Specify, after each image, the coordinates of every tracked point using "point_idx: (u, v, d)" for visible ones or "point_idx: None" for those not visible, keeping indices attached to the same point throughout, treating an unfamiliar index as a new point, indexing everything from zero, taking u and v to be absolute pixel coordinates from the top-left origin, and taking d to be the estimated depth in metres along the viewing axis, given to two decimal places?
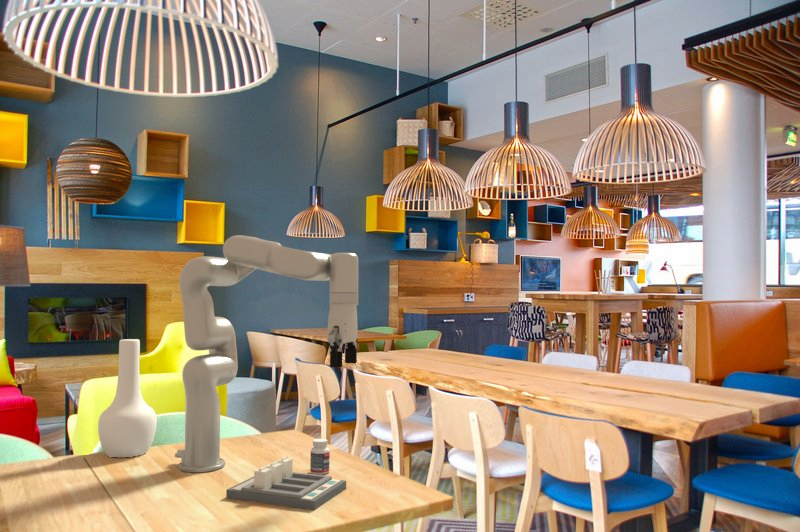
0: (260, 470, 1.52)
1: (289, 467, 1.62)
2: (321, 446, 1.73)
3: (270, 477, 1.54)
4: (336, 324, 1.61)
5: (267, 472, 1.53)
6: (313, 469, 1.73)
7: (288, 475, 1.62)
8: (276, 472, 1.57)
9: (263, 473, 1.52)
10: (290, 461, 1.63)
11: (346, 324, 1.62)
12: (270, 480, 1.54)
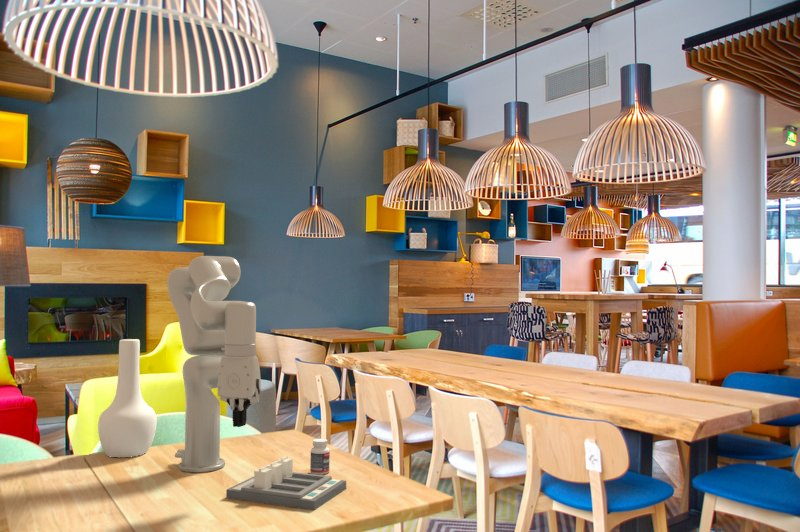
0: (260, 470, 1.52)
1: (289, 467, 1.62)
2: (321, 446, 1.73)
3: (270, 477, 1.54)
4: (257, 377, 1.55)
5: (267, 472, 1.53)
6: (313, 469, 1.73)
7: (288, 475, 1.62)
8: (276, 472, 1.57)
9: (263, 473, 1.52)
10: (290, 461, 1.63)
11: None
12: (270, 480, 1.54)
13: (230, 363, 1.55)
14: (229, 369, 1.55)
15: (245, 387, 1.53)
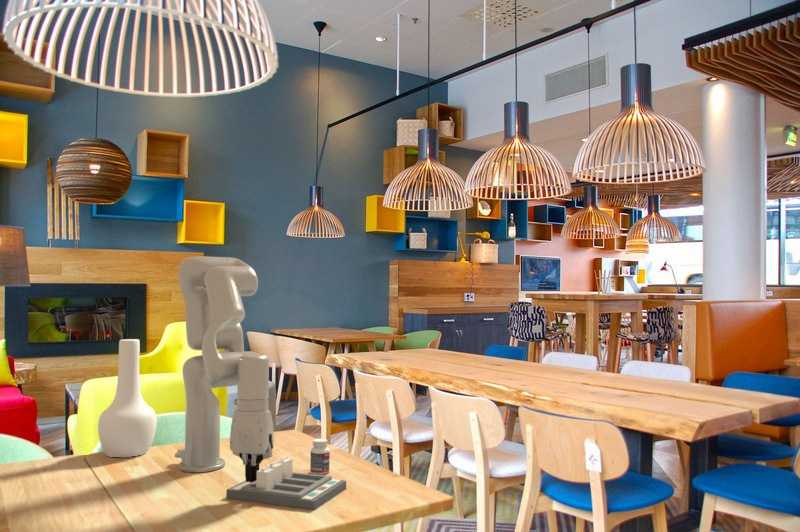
0: (262, 470, 1.52)
1: (289, 467, 1.62)
2: (321, 446, 1.73)
3: (272, 477, 1.54)
4: (270, 432, 1.53)
5: (269, 472, 1.53)
6: (313, 469, 1.73)
7: (288, 475, 1.62)
8: (276, 472, 1.57)
9: (265, 473, 1.52)
10: (290, 461, 1.63)
11: None
12: (272, 481, 1.54)
13: (242, 418, 1.53)
14: (241, 424, 1.53)
15: (258, 443, 1.51)
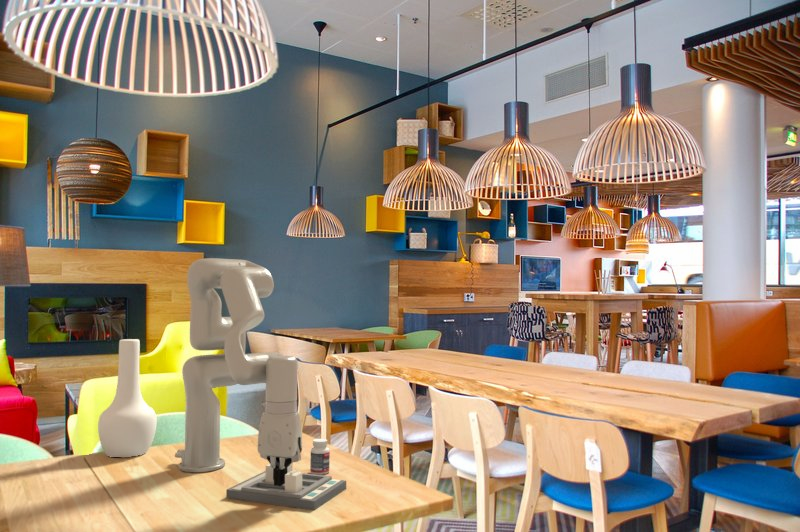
0: (291, 474, 1.49)
1: (289, 467, 1.62)
2: (321, 446, 1.73)
3: (301, 481, 1.51)
4: (299, 435, 1.51)
5: (298, 476, 1.50)
6: (313, 469, 1.73)
7: None
8: None
9: (294, 477, 1.49)
10: None
11: None
12: (301, 484, 1.51)
13: (271, 421, 1.50)
14: (270, 427, 1.50)
15: (287, 446, 1.48)
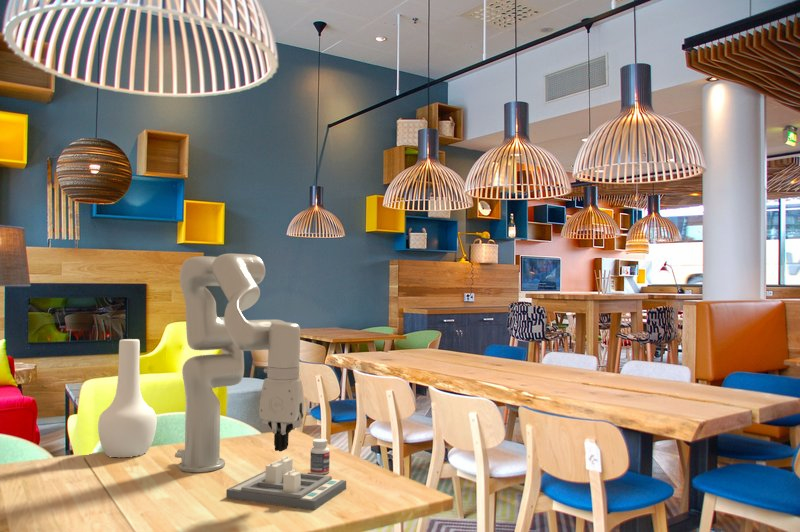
0: (289, 473, 1.50)
1: (289, 467, 1.62)
2: (321, 446, 1.73)
3: (299, 481, 1.51)
4: (300, 401, 1.51)
5: (296, 475, 1.50)
6: (313, 469, 1.73)
7: None
8: (276, 472, 1.57)
9: (292, 477, 1.49)
10: (290, 461, 1.63)
11: None
12: (299, 484, 1.51)
13: (273, 386, 1.51)
14: (272, 393, 1.51)
15: (289, 412, 1.49)
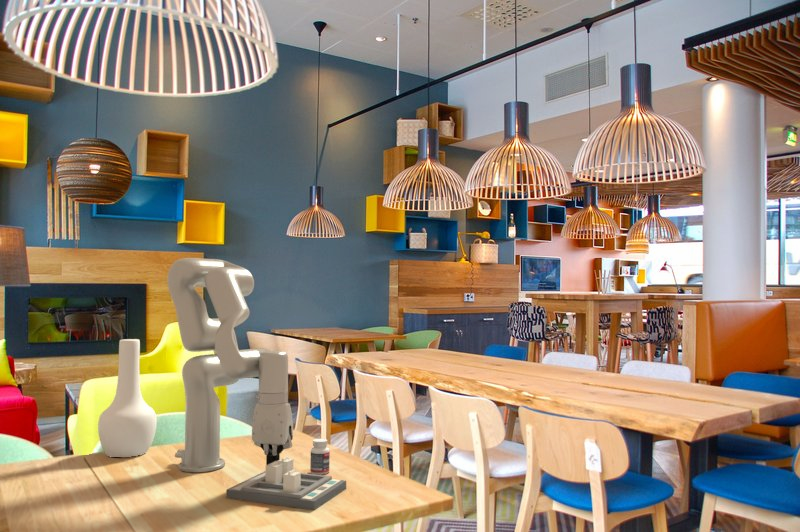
0: (289, 473, 1.50)
1: (290, 467, 1.62)
2: (321, 446, 1.73)
3: (299, 481, 1.51)
4: (290, 424, 1.63)
5: (296, 475, 1.50)
6: (313, 469, 1.73)
7: None
8: (276, 472, 1.57)
9: (292, 477, 1.49)
10: (291, 461, 1.63)
11: None
12: (299, 484, 1.51)
13: (264, 410, 1.63)
14: (263, 417, 1.62)
15: (279, 434, 1.61)
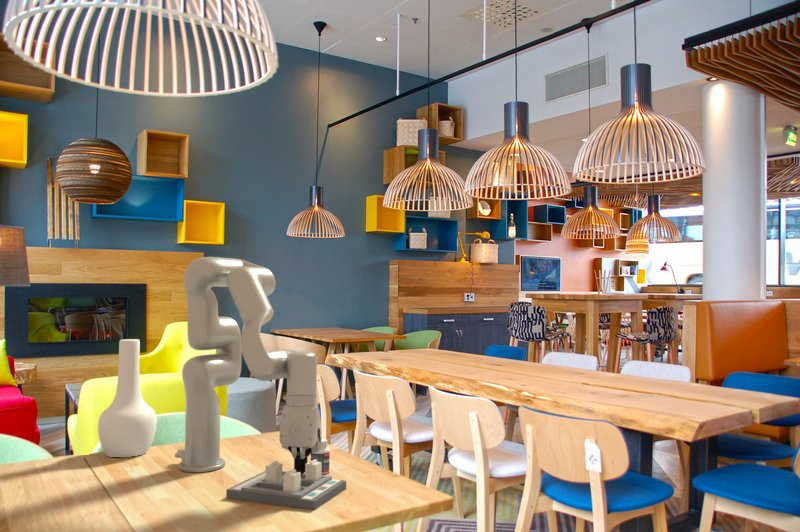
0: (289, 473, 1.50)
1: (318, 471, 1.59)
2: (321, 446, 1.73)
3: (299, 481, 1.51)
4: (318, 426, 1.60)
5: (296, 475, 1.50)
6: None
7: (318, 478, 1.59)
8: (276, 472, 1.57)
9: (292, 477, 1.49)
10: (319, 464, 1.60)
11: None
12: (299, 484, 1.51)
13: (292, 413, 1.60)
14: (291, 419, 1.60)
15: (308, 437, 1.58)
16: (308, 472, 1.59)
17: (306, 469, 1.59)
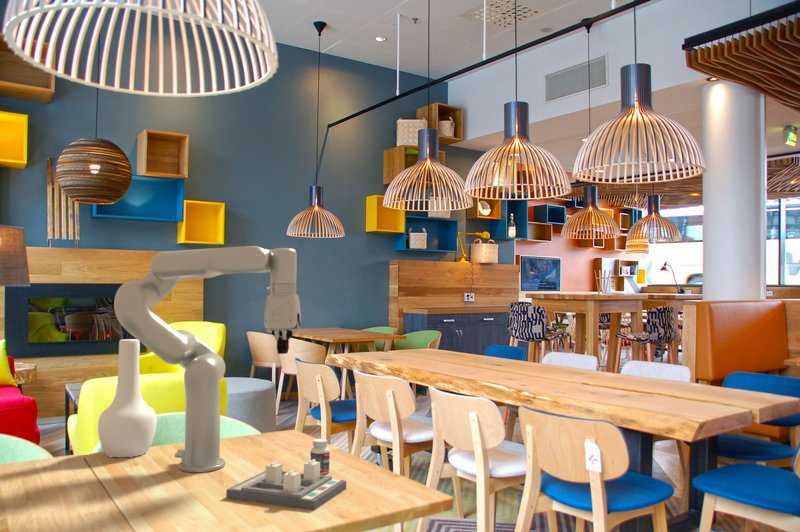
0: (289, 473, 1.50)
1: (317, 470, 1.60)
2: (321, 446, 1.73)
3: (299, 481, 1.51)
4: (298, 312, 1.83)
5: (296, 475, 1.50)
6: None
7: (316, 478, 1.59)
8: (276, 472, 1.57)
9: (292, 477, 1.49)
10: (318, 464, 1.60)
11: None
12: (299, 484, 1.51)
13: (275, 299, 1.82)
14: (274, 305, 1.82)
15: (288, 319, 1.80)
16: (306, 472, 1.59)
17: (305, 469, 1.59)
